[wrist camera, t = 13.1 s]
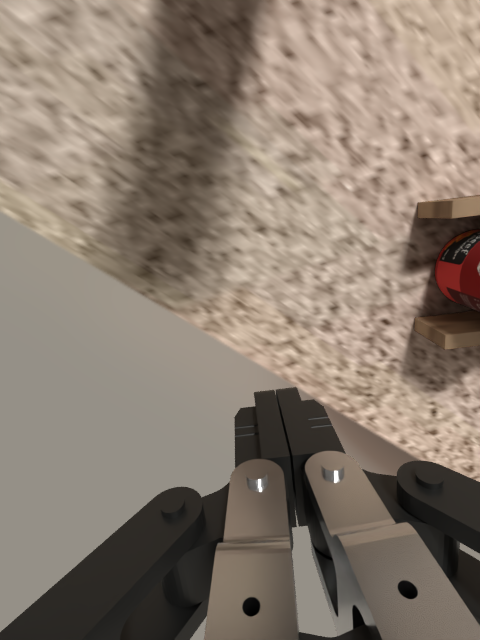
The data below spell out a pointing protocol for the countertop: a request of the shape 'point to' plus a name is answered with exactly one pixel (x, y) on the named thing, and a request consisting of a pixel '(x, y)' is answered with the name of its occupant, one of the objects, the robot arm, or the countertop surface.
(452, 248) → the canned food
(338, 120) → the countertop surface
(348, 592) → the robot arm
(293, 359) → the countertop surface
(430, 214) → the bracket
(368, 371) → the countertop surface
